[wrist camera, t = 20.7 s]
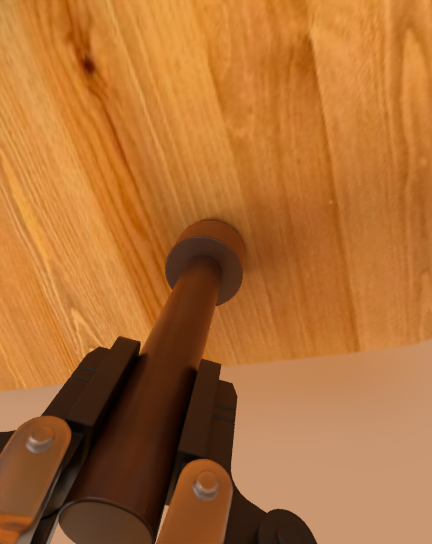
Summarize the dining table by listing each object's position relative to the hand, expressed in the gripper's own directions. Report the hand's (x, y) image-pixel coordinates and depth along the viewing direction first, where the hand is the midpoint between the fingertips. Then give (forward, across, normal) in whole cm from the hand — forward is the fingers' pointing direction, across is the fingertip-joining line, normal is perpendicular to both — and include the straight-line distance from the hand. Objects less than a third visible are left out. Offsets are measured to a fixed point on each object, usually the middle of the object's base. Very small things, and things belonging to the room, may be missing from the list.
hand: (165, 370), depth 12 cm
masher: (+11, 0, 0) cm, 11 cm away
